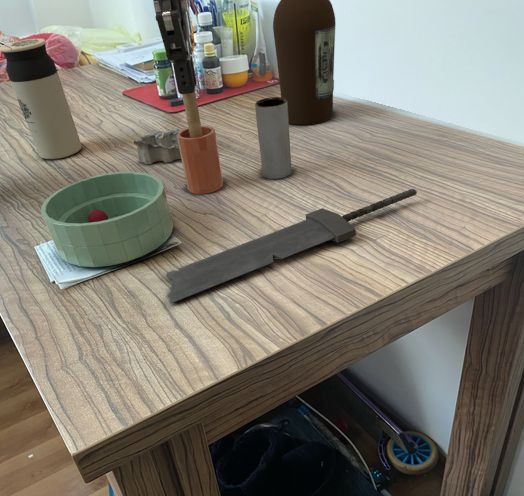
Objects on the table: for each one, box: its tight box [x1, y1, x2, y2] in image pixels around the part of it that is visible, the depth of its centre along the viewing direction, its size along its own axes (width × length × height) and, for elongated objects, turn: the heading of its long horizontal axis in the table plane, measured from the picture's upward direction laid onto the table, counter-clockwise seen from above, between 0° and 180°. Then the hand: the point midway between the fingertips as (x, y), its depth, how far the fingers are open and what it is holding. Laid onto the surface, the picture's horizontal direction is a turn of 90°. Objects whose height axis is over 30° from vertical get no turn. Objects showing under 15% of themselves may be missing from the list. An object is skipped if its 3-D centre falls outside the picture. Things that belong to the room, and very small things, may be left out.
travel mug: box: [0, 38, 83, 160], centre depth 91 cm, size 8×8×18 cm
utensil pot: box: [177, 125, 224, 195], centre depth 75 cm, size 5×5×8 cm
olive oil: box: [272, 0, 337, 126], centre depth 89 cm, size 11×11×25 cm
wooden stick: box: [177, 47, 203, 138], centre depth 71 cm, size 2×3×18 cm, turn 1°
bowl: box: [40, 171, 174, 268], centre depth 66 cm, size 15×15×6 cm
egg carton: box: [133, 127, 186, 165], centre depth 88 cm, size 11×8×4 cm
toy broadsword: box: [165, 188, 418, 304], centre depth 61 cm, size 7×35×2 cm, turn 118°
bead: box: [88, 210, 108, 223], centre depth 68 cm, size 3×3×3 cm
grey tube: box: [254, 96, 293, 180], centre depth 75 cm, size 4×4×10 cm
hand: (187, 89), depth 69 cm, fingers closed
